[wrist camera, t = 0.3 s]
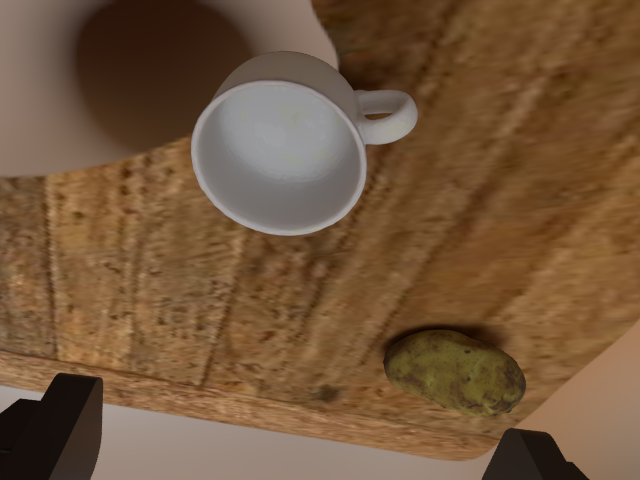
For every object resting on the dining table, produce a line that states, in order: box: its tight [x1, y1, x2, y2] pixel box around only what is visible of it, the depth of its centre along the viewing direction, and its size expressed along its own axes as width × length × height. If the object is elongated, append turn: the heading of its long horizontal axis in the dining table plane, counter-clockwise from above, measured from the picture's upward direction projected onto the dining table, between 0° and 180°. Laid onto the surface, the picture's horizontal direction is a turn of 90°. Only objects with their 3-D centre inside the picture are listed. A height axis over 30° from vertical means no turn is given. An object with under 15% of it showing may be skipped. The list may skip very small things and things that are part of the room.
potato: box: [383, 330, 526, 417], centre depth 52 cm, size 8×13×8 cm, turn 80°
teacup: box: [191, 51, 418, 236], centre depth 34 cm, size 14×11×8 cm
